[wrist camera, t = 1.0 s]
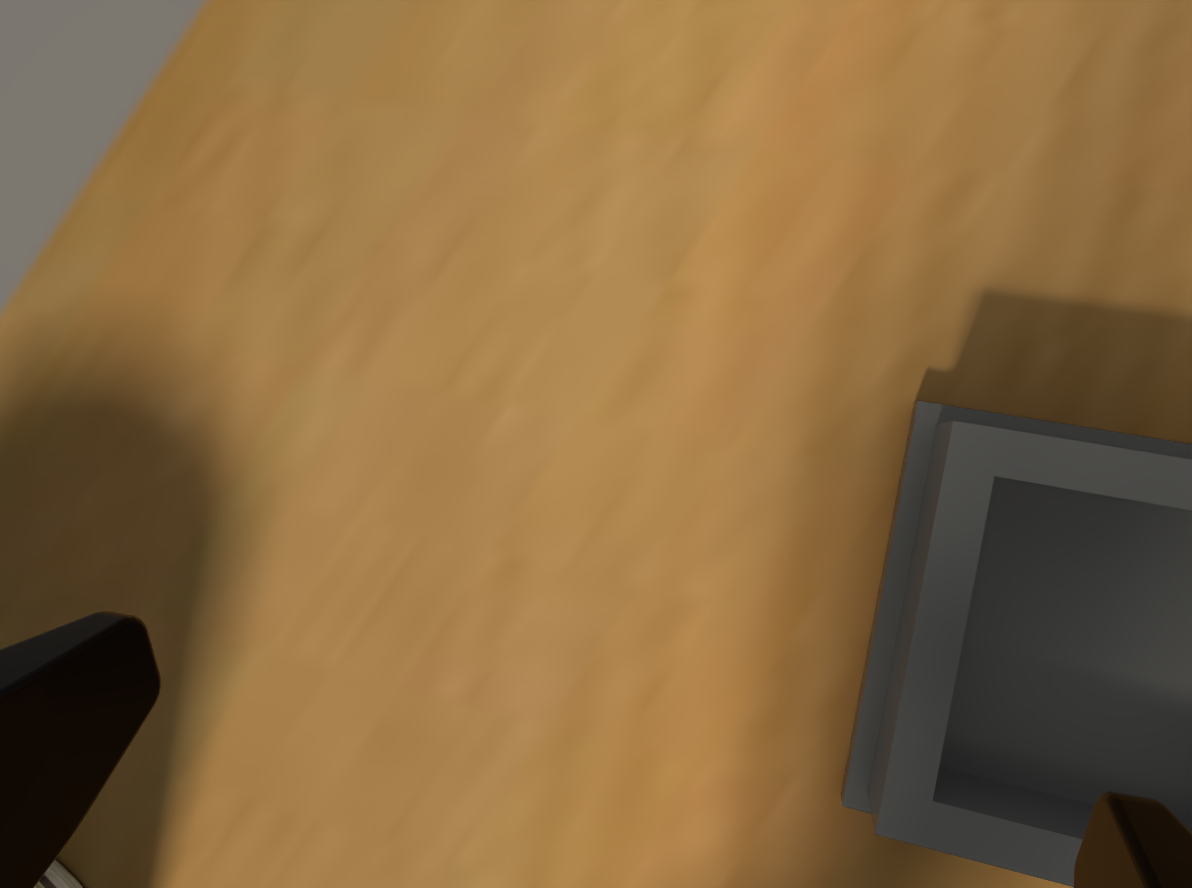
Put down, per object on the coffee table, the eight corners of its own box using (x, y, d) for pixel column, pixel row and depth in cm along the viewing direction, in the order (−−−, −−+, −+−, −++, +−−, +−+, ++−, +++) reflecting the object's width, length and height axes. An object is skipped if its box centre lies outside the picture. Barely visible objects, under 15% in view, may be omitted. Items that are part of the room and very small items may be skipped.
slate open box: (1290, 910, 20) (1382, 996, 17) (841, 794, 23) (847, 850, 19) (1378, 476, 20) (1489, 480, 17) (914, 402, 22) (933, 393, 19)
